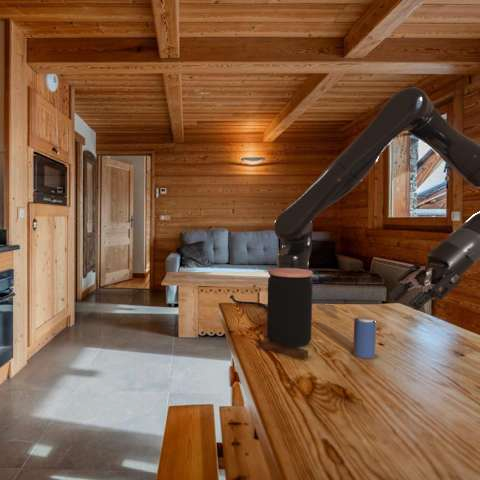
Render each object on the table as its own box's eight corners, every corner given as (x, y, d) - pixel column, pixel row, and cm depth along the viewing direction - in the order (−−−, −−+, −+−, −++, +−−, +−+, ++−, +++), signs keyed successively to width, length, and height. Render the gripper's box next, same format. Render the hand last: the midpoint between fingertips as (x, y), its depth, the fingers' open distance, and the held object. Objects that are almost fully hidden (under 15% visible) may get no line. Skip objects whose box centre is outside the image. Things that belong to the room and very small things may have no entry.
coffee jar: (312, 338, 101) (314, 269, 100) (309, 350, 91) (311, 274, 90) (270, 332, 105) (271, 266, 104) (263, 344, 95) (264, 271, 94)
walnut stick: (258, 347, 93) (259, 341, 93) (264, 345, 95) (264, 339, 95) (303, 359, 85) (303, 352, 85) (308, 356, 87) (308, 350, 87)
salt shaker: (350, 354, 88) (351, 318, 88) (356, 350, 92) (357, 314, 91) (371, 359, 85) (372, 321, 85) (377, 354, 88) (378, 318, 88)
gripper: (426, 238, 93) (374, 285, 94) (469, 242, 79) (407, 297, 80) (448, 261, 93) (396, 307, 94) (495, 268, 78) (433, 323, 80)
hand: (401, 302), depth 87 cm, fingers open, 8 cm apart
